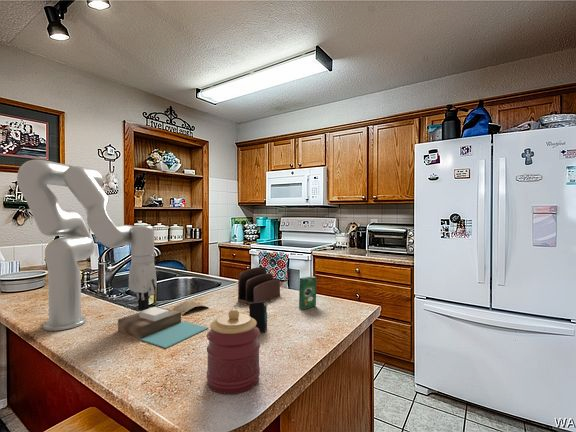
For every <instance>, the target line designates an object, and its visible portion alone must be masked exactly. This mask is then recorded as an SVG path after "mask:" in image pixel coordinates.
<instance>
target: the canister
mask: <svg viewBox="0 0 576 432" xmlns="http://www.w3.org/2000/svg"><path fill="white" fill-rule="evenodd" d="M256 324H257V322H256V320H255V319H253V318H251V317H250V316H249V315H248V314H247V313H241V312H239V310H238V309H235V308H232V309H230V310H229V312H228V313H226V314H222V315H220V316H218V317H217V318H216V319H214V320H213V321H211V322H210V330H208V332H207V333H206V338H207V340H208V345H207V347H206V352H207V369H206V370H207V371H206V381H207V384H208V387H209V388H210V389H211V390H213V391H214V392H217V393H219V394H225V395H226V394H227V395H234V394H239V393H243V392H246V391H248V390H250V389H252V388H253V387H255V386H256V384H257V383H259V378H260V375H261V374H260V371H261V369H260V368H261V367H260V348H261V343H260V342H259V336H260V334H261V333H260V330H259V329H258V328H257V327H256Z"/></svg>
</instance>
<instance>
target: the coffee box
mask: <svg viewBox="0 0 576 432" xmlns="http://www.w3.org/2000/svg"><path fill="white" fill-rule="evenodd" d="M298 297H299V298H298V308H299V309H300V310H307V309H309V308H314V307H316V306H317V277H316V276H306V277H301V278H300V277H299V293H298Z"/></svg>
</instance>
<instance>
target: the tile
mask: <svg viewBox="0 0 576 432" xmlns="http://www.w3.org/2000/svg"><path fill="white" fill-rule="evenodd" d="M156 307H157V306H153V307H152V306H151V307H149V309H146V310H143V311H139V312H138V313H139V317H140V318H144V319H147V320H151V321H157V320H160V319H163V318H165V317H168V316H169V310H165V309H166V308H165V309H161V308H162V307H161V308H156Z"/></svg>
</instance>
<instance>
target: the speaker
mask: <svg viewBox="0 0 576 432" xmlns="http://www.w3.org/2000/svg"><path fill="white" fill-rule="evenodd" d="M248 308H249V309H248V310H249V311H248V313H249V316H250V317H251V318H253V319H255V320H256V322H257V324H256V327H257V328H258V329H259V330H260V334H264V333H266V329H267V328H268V311H267V310H268V308H267V304H266V303H265V301H264V302H256V303H249V304H248Z"/></svg>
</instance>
